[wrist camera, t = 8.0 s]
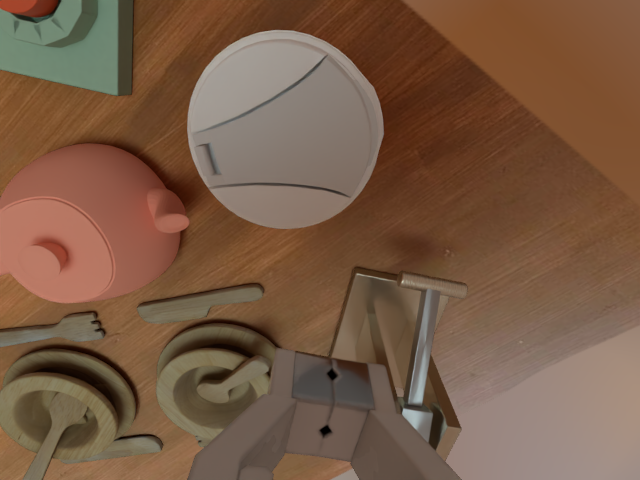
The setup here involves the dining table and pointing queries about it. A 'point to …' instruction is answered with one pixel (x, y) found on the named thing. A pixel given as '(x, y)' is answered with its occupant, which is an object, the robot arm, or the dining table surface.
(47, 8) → the button
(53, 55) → the button box
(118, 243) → the teapot
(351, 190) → the coffee cup
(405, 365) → the metal lever stand
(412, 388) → the lever
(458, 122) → the dining table surface
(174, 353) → the tableware set
